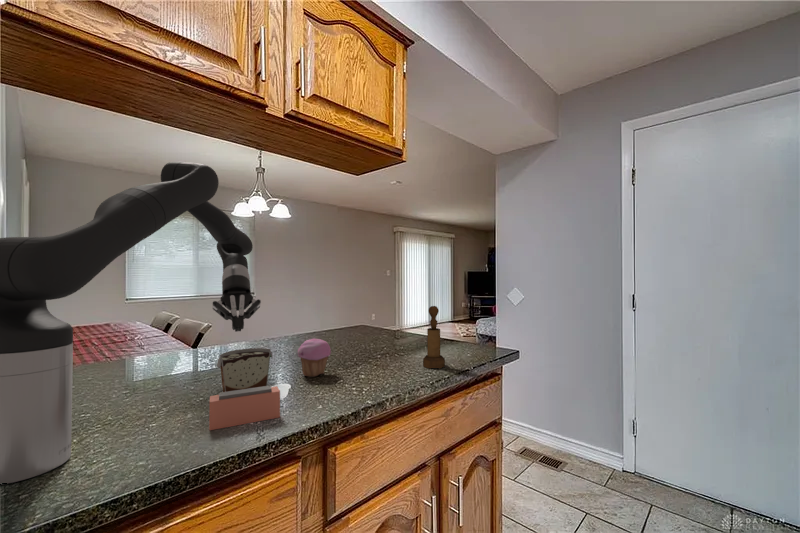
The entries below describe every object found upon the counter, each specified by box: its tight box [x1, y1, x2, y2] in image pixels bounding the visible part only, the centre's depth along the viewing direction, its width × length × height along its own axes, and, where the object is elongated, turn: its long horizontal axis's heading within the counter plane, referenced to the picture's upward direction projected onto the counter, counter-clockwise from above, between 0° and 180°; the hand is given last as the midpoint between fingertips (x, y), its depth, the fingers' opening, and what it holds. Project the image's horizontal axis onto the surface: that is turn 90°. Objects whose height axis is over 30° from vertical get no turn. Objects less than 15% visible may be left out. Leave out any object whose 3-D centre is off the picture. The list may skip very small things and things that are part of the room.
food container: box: [216, 347, 273, 392], centre depth 80 cm, size 12×6×10 cm, turn 141°
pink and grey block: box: [208, 385, 281, 431], centre depth 66 cm, size 12×4×6 cm, turn 118°
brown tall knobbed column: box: [422, 305, 446, 369], centre depth 105 cm, size 7×6×18 cm
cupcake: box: [297, 337, 332, 378], centre depth 96 cm, size 9×9×10 cm
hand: (238, 329), depth 93 cm, fingers closed
